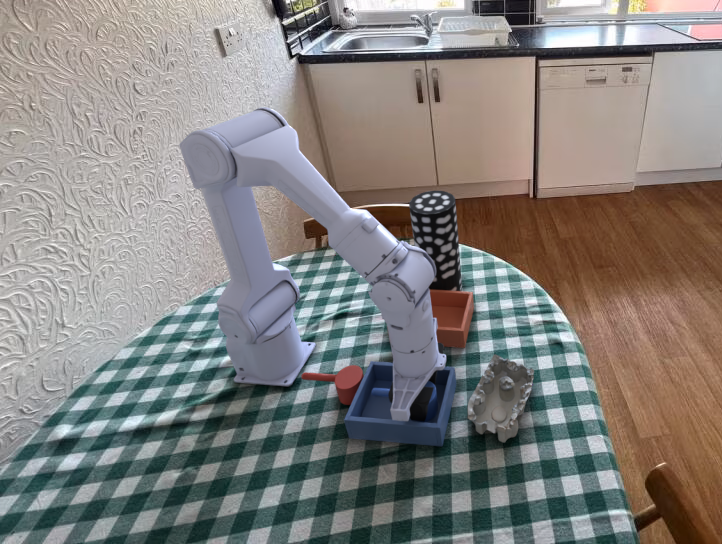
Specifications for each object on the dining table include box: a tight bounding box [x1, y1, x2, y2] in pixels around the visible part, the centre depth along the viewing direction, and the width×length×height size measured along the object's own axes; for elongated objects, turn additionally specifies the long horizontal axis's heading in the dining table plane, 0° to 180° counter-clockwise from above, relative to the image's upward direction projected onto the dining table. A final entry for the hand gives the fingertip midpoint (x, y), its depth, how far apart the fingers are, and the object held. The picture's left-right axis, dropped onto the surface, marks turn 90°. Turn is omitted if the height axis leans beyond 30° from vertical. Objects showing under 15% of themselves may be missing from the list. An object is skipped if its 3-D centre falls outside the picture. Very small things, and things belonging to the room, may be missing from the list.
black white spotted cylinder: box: [408, 190, 463, 291], centre depth 79 cm, size 8×8×20 cm
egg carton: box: [467, 354, 535, 444], centre depth 60 cm, size 11×8×4 cm
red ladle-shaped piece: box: [300, 364, 365, 406], centre depth 63 cm, size 10×4×4 cm, turn 85°
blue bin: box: [343, 360, 457, 447], centre depth 60 cm, size 13×9×4 cm
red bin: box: [386, 289, 475, 349], centre depth 74 cm, size 13×9×4 cm
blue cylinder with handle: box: [371, 381, 438, 422], centre depth 60 cm, size 10×4×4 cm, turn 85°
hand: (423, 403), depth 60 cm, fingers closed on blue cylinder with handle, 4 cm apart
